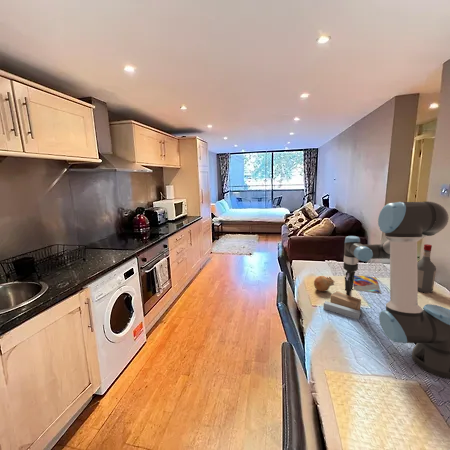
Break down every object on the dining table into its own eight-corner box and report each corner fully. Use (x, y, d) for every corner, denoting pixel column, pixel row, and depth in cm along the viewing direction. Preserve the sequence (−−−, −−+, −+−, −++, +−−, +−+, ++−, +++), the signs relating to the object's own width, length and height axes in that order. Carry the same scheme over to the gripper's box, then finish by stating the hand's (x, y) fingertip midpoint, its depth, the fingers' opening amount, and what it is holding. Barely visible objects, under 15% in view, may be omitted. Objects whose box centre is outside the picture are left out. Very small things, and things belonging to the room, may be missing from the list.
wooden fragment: (325, 292, 161) (325, 290, 160) (309, 287, 168) (309, 286, 168) (339, 279, 179) (339, 278, 179) (324, 276, 186) (324, 274, 186)
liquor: (417, 292, 156) (423, 246, 150) (410, 286, 165) (415, 242, 159) (434, 293, 154) (441, 247, 148) (426, 287, 162) (432, 243, 157)
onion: (327, 295, 156) (327, 280, 154) (311, 291, 162) (311, 277, 160) (331, 289, 163) (332, 275, 161) (316, 286, 169) (316, 272, 167)
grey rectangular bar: (358, 319, 129) (358, 313, 128) (323, 308, 140) (323, 303, 140) (359, 317, 131) (360, 311, 131) (325, 306, 143) (325, 301, 142)
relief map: (381, 294, 156) (381, 291, 156) (354, 290, 162) (354, 287, 162) (376, 279, 178) (376, 276, 178) (352, 276, 185) (352, 273, 184)
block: (354, 313, 135) (355, 303, 134) (330, 304, 146) (330, 294, 144) (360, 309, 139) (361, 299, 138) (336, 300, 150) (336, 291, 149)
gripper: (355, 267, 134) (352, 306, 139) (360, 260, 144) (357, 298, 149) (340, 264, 139) (338, 302, 144) (347, 258, 149) (344, 294, 153)
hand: (348, 300), depth 146 cm, fingers closed
